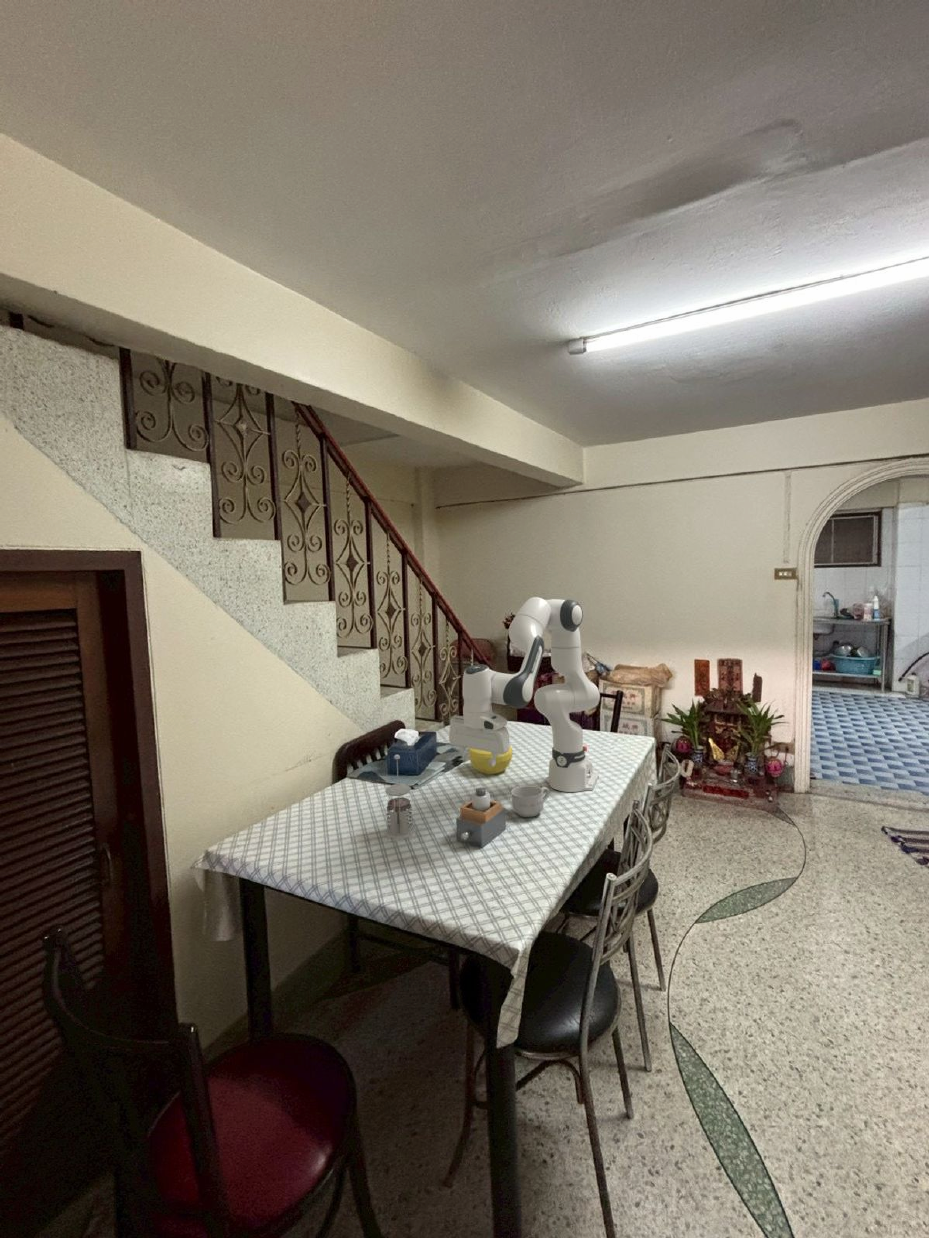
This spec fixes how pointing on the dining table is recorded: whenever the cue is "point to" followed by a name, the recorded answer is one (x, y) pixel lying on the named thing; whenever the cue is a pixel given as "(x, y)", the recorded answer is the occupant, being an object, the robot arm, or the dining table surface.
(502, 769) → the vase
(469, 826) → the grey box with knob
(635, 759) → the dining table surface
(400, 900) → the dining table surface
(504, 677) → the robot arm
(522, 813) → the teacup
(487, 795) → the light grey rounded bottle
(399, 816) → the french press
